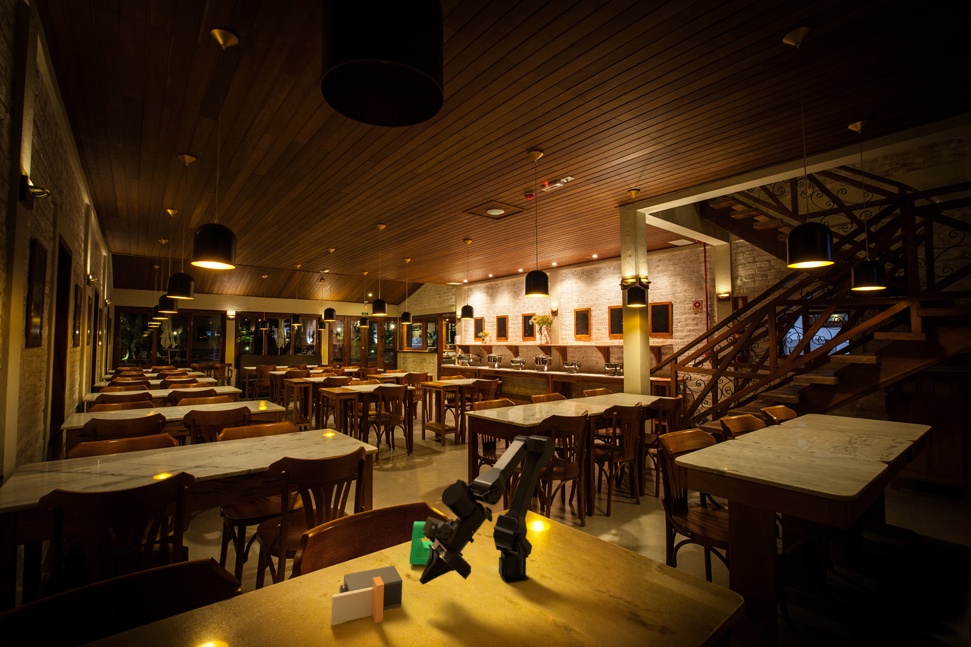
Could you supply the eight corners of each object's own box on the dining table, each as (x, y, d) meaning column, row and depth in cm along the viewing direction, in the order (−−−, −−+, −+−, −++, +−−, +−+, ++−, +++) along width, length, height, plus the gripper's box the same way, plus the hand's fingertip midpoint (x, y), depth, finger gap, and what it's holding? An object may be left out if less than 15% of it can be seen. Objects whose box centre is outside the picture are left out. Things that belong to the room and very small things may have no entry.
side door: (377, 611, 98) (378, 573, 98) (382, 623, 93) (384, 584, 94) (330, 621, 93) (332, 582, 94) (333, 635, 88) (335, 594, 89)
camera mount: (436, 568, 120) (437, 530, 121) (409, 568, 120) (410, 529, 121) (441, 550, 132) (442, 515, 133) (416, 549, 132) (417, 515, 133)
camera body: (392, 590, 107) (393, 565, 108) (401, 607, 100) (402, 580, 101) (337, 602, 102) (338, 575, 102) (342, 621, 94) (343, 592, 95)
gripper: (431, 493, 112) (387, 545, 106) (458, 517, 95) (408, 580, 89) (459, 520, 114) (418, 572, 109) (490, 548, 98) (443, 611, 92)
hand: (421, 582), depth 99 cm, fingers closed
